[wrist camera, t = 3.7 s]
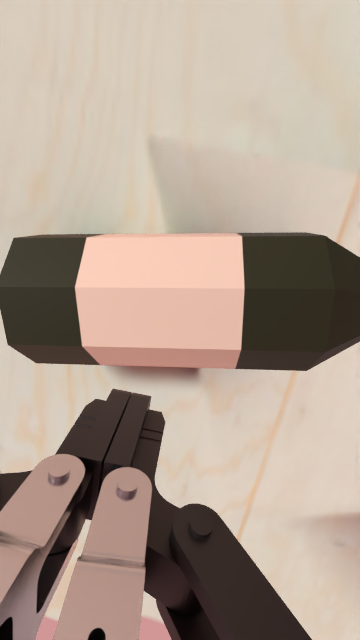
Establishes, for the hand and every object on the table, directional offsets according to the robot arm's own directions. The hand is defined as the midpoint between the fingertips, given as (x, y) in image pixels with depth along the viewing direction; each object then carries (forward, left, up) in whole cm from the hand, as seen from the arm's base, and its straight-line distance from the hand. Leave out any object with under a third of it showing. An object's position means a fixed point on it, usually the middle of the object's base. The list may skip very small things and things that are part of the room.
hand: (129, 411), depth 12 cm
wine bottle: (+7, -4, -8) cm, 12 cm away
